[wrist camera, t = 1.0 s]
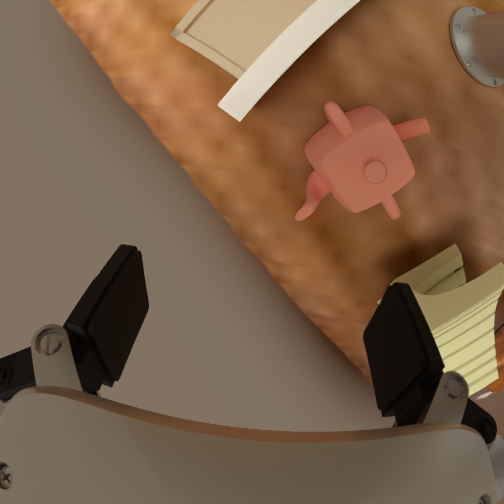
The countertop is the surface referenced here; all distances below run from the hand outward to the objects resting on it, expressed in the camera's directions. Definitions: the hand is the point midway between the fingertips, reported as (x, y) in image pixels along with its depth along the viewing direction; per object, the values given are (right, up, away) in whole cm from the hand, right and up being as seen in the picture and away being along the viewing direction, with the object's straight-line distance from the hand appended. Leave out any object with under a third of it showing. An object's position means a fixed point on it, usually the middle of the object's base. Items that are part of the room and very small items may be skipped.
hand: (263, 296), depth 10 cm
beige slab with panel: (+2, +29, +13) cm, 31 cm away
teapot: (+11, +14, +22) cm, 28 cm away
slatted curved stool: (+31, -5, +33) cm, 46 cm away
